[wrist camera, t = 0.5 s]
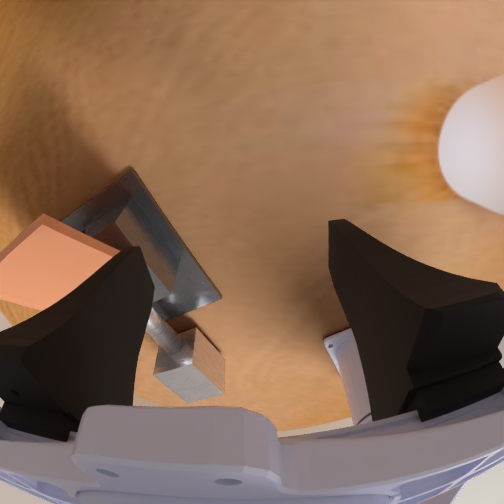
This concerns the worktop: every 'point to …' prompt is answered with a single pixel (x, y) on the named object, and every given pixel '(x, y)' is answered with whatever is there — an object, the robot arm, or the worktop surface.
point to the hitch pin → (186, 361)
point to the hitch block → (147, 244)
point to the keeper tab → (49, 263)
